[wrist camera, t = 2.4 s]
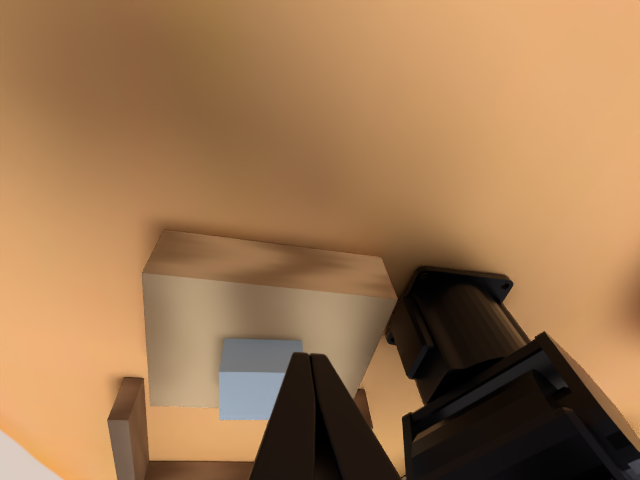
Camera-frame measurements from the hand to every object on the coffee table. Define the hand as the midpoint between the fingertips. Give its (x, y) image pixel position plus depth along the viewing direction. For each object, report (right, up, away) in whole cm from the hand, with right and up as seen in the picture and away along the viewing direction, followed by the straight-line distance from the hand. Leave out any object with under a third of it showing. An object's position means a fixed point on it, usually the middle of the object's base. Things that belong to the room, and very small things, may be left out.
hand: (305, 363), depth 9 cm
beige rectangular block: (-3, -1, +14) cm, 14 cm away
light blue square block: (-3, -4, +11) cm, 12 cm away
